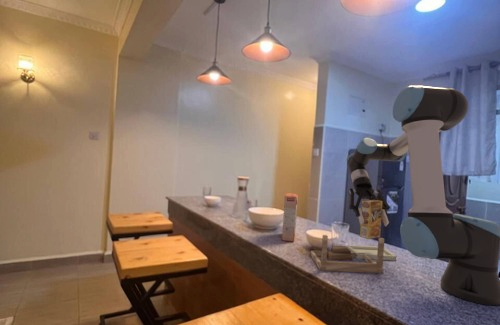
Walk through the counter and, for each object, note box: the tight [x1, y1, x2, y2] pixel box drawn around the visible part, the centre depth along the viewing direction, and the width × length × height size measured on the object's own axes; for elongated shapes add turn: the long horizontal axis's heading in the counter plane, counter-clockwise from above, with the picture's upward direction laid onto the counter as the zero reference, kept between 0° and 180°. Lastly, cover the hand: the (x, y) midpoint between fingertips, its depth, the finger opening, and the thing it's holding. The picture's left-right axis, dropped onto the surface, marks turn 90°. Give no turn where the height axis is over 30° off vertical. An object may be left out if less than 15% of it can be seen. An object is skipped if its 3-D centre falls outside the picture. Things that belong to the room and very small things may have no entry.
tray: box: [346, 244, 397, 262], centre depth 116 cm, size 12×16×2 cm
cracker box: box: [281, 192, 299, 243], centre depth 134 cm, size 14×6×21 cm, turn 168°
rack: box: [309, 234, 385, 275], centre depth 104 cm, size 16×22×12 cm
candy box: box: [359, 199, 382, 240], centre depth 116 cm, size 9×4×15 cm, turn 125°
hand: (374, 223), depth 113 cm, fingers closed on candy box, 9 cm apart
